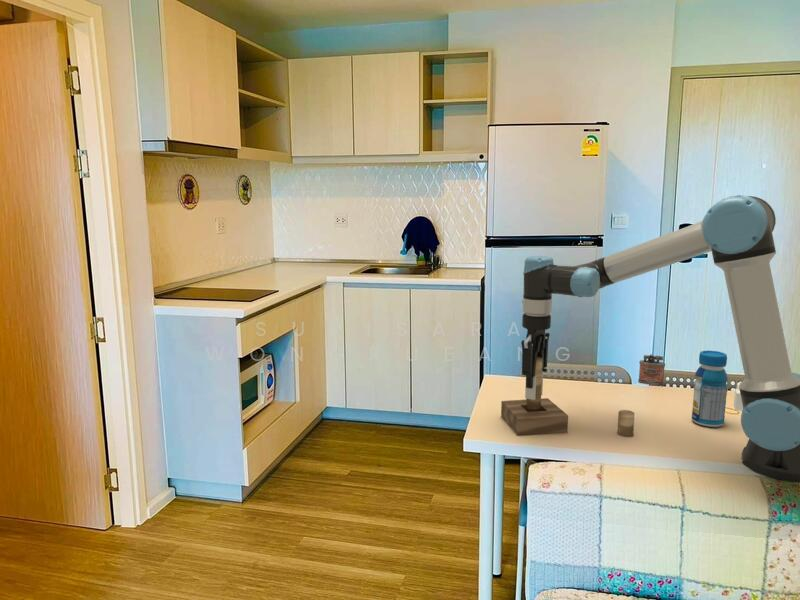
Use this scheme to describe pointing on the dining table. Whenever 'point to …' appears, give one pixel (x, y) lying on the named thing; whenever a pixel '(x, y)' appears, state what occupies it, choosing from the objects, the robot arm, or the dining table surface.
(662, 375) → the lighter
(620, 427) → the short pin
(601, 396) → the dining table surface
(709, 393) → the beverage bottle
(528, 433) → the pin block
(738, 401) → the napkin holder
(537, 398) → the long pin
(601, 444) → the dining table surface
